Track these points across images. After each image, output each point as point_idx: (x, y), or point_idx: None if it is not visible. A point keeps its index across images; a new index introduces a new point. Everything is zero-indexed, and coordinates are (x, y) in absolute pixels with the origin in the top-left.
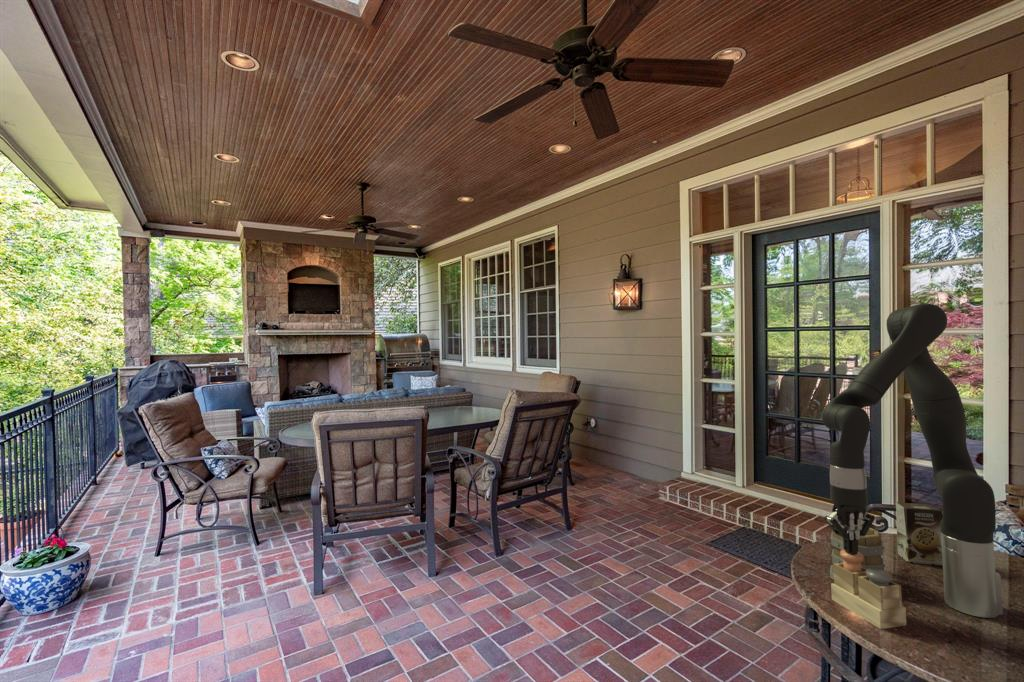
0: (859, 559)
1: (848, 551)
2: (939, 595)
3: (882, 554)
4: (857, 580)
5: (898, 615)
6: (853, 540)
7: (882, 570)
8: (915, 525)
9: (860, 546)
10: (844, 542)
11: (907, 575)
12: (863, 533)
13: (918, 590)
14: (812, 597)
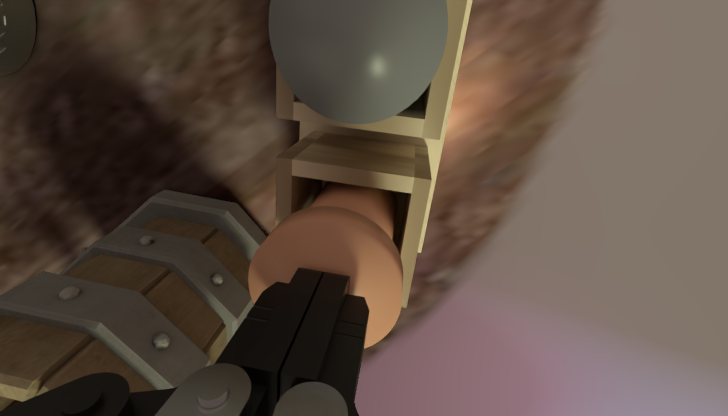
0: (337, 217)
1: (364, 307)
2: (14, 104)
3: (46, 272)
4: (398, 161)
5: None
6: (292, 373)
7: (277, 58)
8: None
9: (123, 347)
10: (355, 394)
11: (22, 233)
12: (79, 413)
13: (60, 154)
14: (472, 256)
